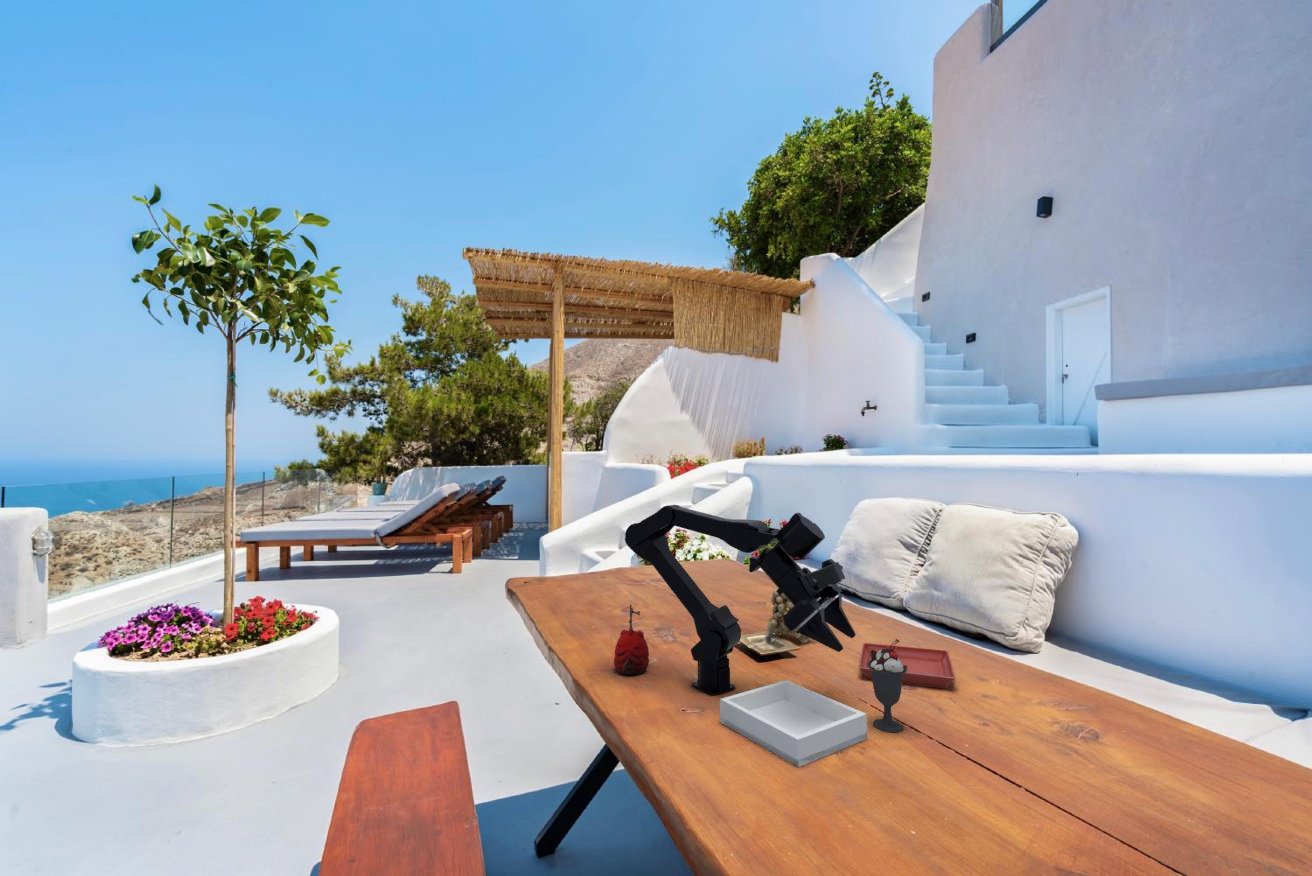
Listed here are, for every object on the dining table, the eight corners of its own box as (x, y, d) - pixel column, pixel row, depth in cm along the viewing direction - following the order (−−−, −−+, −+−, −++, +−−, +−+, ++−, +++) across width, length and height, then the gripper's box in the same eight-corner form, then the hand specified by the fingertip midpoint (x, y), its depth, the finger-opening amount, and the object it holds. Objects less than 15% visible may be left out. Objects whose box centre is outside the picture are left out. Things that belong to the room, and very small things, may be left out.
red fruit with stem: (650, 666, 130) (650, 598, 130) (646, 678, 123) (646, 606, 123) (616, 665, 130) (616, 597, 131) (610, 677, 123) (610, 605, 124)
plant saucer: (858, 682, 121) (858, 666, 121) (862, 655, 138) (862, 641, 138) (956, 695, 114) (956, 678, 114) (948, 665, 131) (948, 650, 131)
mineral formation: (779, 631, 157) (778, 574, 158) (823, 642, 147) (822, 581, 148) (760, 637, 152) (760, 578, 152) (805, 649, 142) (804, 586, 142)
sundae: (913, 736, 96) (911, 644, 97) (870, 733, 97) (868, 641, 98) (904, 719, 103) (903, 632, 103) (864, 716, 104) (863, 630, 105)
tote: (720, 722, 102) (720, 699, 102) (785, 701, 110) (785, 680, 111) (798, 767, 87) (798, 739, 87) (867, 739, 95) (866, 714, 96)
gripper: (800, 553, 100) (869, 628, 93) (830, 540, 116) (890, 603, 109) (757, 594, 103) (821, 669, 97) (791, 577, 119) (848, 640, 113)
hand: (847, 643), depth 104 cm, fingers open, 9 cm apart
